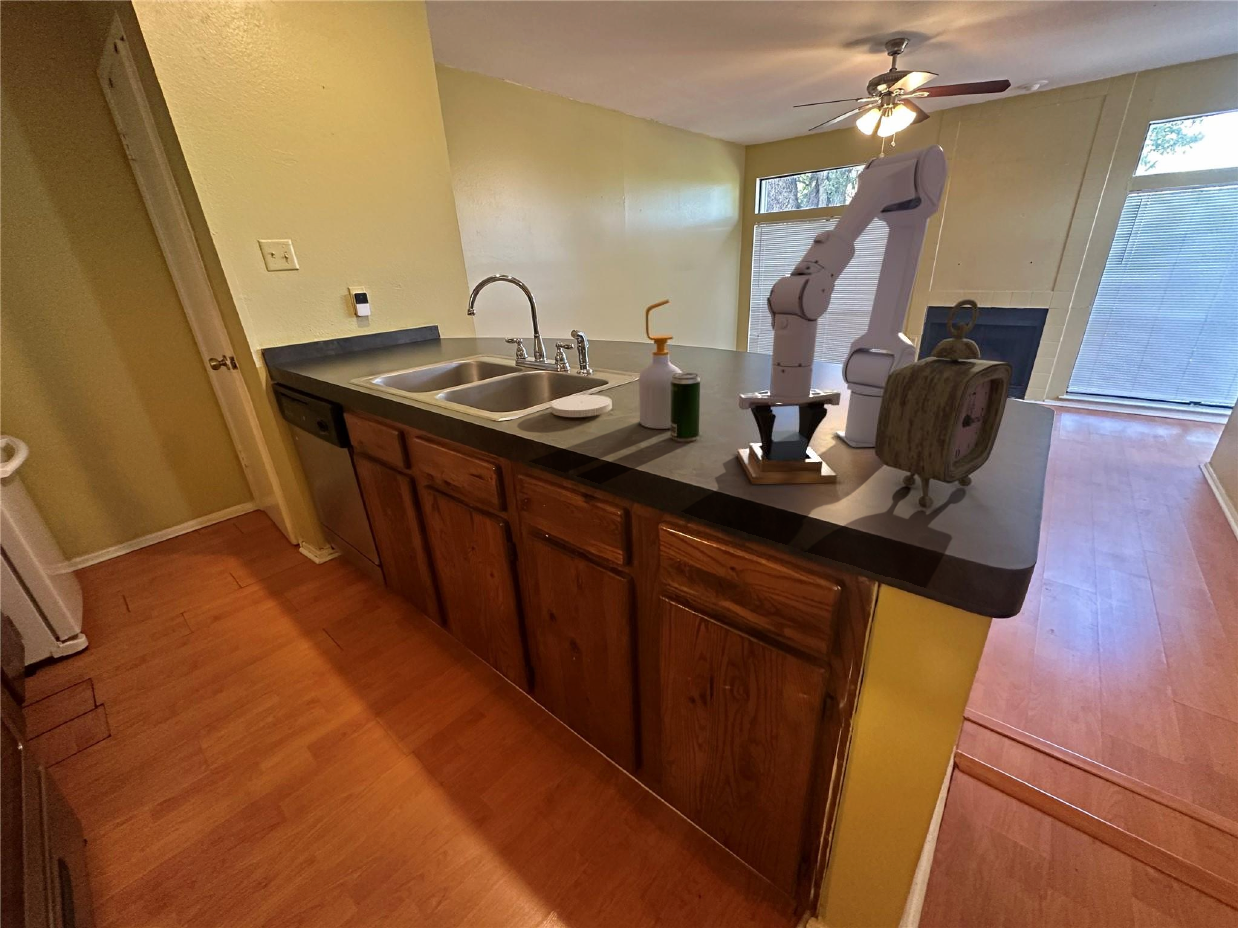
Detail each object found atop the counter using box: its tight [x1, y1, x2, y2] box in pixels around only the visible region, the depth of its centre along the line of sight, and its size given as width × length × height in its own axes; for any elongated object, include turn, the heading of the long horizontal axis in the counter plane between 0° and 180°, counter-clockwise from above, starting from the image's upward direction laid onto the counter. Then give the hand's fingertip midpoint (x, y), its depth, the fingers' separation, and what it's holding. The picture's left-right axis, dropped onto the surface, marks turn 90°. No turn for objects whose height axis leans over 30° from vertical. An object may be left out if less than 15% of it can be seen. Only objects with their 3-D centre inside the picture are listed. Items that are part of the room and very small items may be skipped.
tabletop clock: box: [874, 298, 1013, 509], centre depth 61 cm, size 14×9×25 cm, turn 124°
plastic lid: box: [550, 394, 613, 418], centre depth 110 cm, size 14×14×2 cm
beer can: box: [670, 372, 701, 443], centre depth 89 cm, size 5×5×12 cm
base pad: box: [736, 442, 838, 485], centre depth 75 cm, size 12×12×3 cm
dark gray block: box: [763, 429, 808, 460], centre depth 74 cm, size 5×5×4 cm
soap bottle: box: [638, 298, 683, 430], centre depth 96 cm, size 9×9×25 cm
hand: (784, 451), depth 74 cm, fingers closed on dark gray block, 5 cm apart
